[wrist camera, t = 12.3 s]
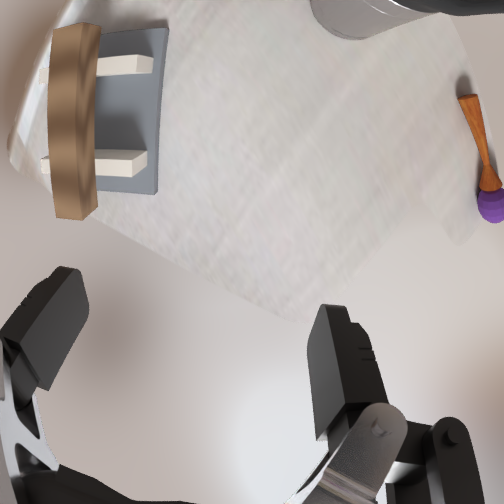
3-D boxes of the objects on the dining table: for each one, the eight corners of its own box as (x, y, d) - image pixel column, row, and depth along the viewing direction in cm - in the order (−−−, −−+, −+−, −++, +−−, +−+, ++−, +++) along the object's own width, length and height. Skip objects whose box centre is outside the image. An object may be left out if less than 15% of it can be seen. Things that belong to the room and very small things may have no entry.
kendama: (492, 91, 25) (517, 217, 32) (465, 92, 30) (493, 207, 38) (470, 102, 25) (497, 234, 33) (442, 102, 31) (473, 222, 38)
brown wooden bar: (73, 32, 22) (53, 29, 18) (101, 26, 22) (83, 22, 18) (72, 204, 33) (56, 217, 29) (97, 206, 33) (82, 220, 30)
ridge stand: (65, 43, 27) (37, 41, 21) (169, 29, 28) (151, 19, 22) (64, 184, 38) (40, 201, 33) (157, 191, 39) (140, 210, 33)
